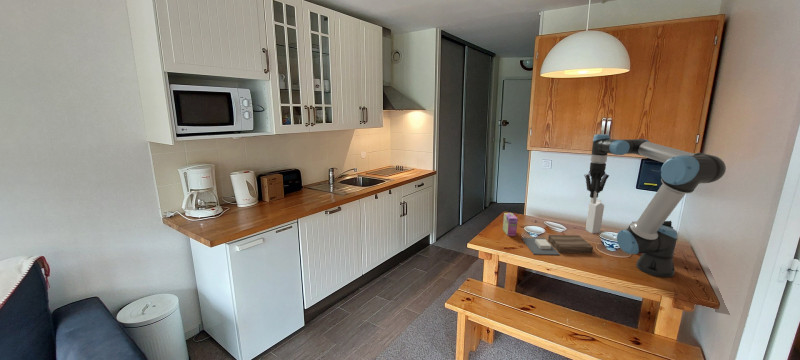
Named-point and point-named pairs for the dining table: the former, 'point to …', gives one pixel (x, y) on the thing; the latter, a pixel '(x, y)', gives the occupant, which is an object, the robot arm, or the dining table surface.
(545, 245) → the tile
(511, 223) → the box
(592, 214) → the milk
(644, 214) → the robot arm
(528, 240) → the mat
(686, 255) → the dining table surface
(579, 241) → the deck
